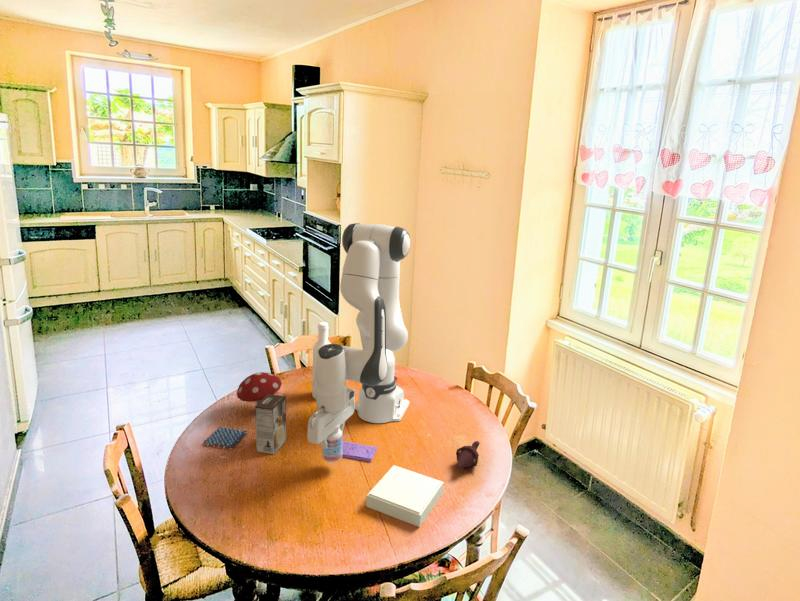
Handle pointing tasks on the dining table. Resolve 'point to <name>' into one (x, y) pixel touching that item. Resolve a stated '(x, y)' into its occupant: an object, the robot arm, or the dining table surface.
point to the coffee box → (270, 423)
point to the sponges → (358, 451)
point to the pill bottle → (333, 446)
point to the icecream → (468, 456)
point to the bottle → (321, 342)
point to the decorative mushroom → (258, 387)
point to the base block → (405, 495)
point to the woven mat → (225, 438)
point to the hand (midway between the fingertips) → (332, 441)
